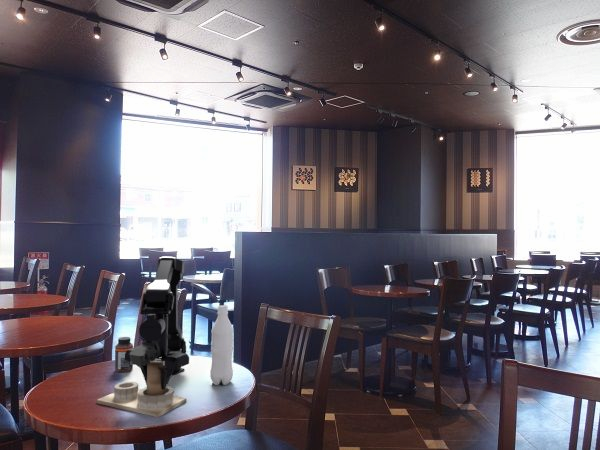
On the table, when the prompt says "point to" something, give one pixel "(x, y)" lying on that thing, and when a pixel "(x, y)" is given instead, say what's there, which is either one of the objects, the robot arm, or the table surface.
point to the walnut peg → (154, 378)
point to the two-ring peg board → (141, 399)
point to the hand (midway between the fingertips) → (156, 387)
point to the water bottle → (222, 348)
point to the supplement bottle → (122, 355)
